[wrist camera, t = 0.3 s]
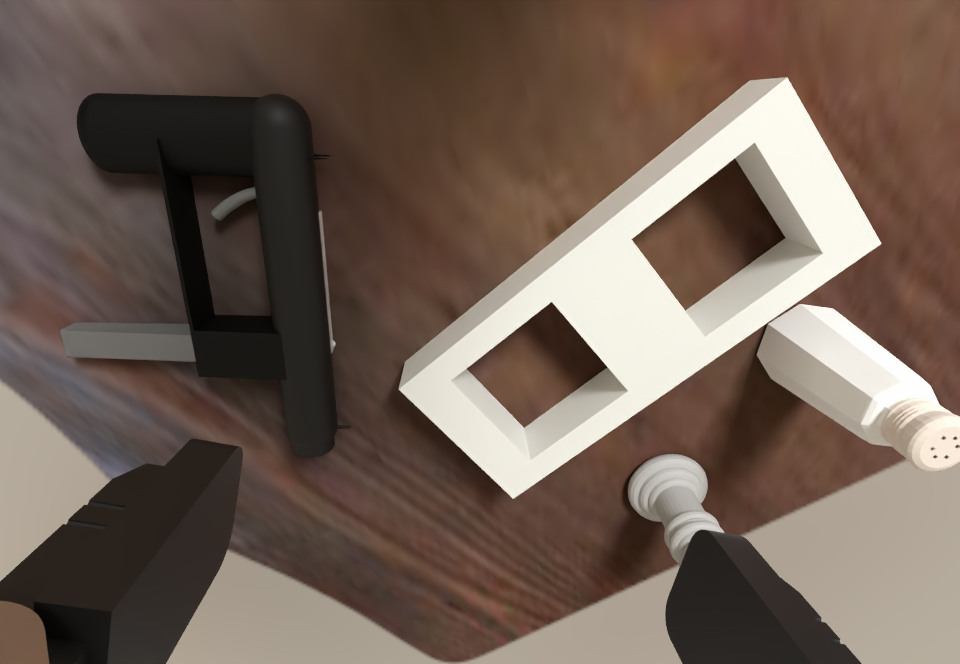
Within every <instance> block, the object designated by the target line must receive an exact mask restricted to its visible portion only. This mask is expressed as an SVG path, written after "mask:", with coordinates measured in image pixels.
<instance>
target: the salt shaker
mask: <svg viewBox="0 0 960 664" xmlns="http://www.w3.org/2000/svg"><path fill="white" fill-rule="evenodd" d="M757 357H758V358H759V360H760V362H761V363H762V365H763V367H764V368H765V370H766V372H767V373H768V375H769V376H770V378H771V379H772V380H773V381H775V382H777V383H778V384H780V385H781V386H783V387H784V388H786V389H787V390H789V391H790V392H792V393H793V394H795V395H796V396H798V397H799V398H801V399H802V400H804V401H805V402H807V403H808V404H810V405H811V406H813V407H815V408H816V409H818V410H819V411H821V412H822V413H824V414H825V415H827V416H828V417H830V418H831V419H833V420H834V421H836V422H837V423H839V424H840V425H842V426H843V427H845V428H846V429H848V430H849V431H851V432H853V433H854V434H856V435H857V436H859V437H860V438H862V439H864V440H865V441H867V442H869V443H871V444H876V445H884V446H892V447H893V448H894V449H896V450H897V451H898V452H899V453H900V454H902V455H903V456H905V457H906V459H907V461H908V462H910V463H911V464H912V465H913V466H914V467H916V468H917V469H920V470H923V471H940V470H944V469H947V468H949V467H951V466H953V465H955V464H957V463H958V462H960V417H959V416H957V415H954V414H952V413H951V412H950V411H948V410H946V409H945V408H943V407H942V406H940V405H939V403H938V401H937V399H936V396H935V394H934V392H933V390H932V388H931V386H930V385H929V384H928V383H927V382H926V381H925V380H923V379H922V378H921V377H920V376H919V375H918V374H916V373H915V372H914V371H912V370H911V369H910V368H909V367H907V366H906V365H905V364H903V363H902V362H901V361H900V360H898V359H897V358H896V357H894V356H893V355H892V354H891V353H889V352H888V351H887V350H886V349H884V348H883V347H882V346H880V345H879V344H878V343H877V342H875V341H874V340H873V339H871V338H870V337H869V336H868V335H866V334H865V333H864V332H862V331H861V330H860V329H859V328H857V327H856V326H855V325H853V324H852V323H851V322H850V321H848V320H847V319H846V318H845V317H843V316H842V315H841V314H839V313H838V312H837V311H836V310H834V309H833V308H826V307H818V306H810V305H803V304H799V305H797V306H796V307H794V308H793V309H791V310H789V311H788V312H786V313H784V314H783V315H781V316H780V317H778V318H776V319H775V320H773V321H772V322H770V323H768V325H767V328H766V330H765V333H764V336H763V338H762V341H761V344H760V347H759V349H758V352H757Z"/></svg>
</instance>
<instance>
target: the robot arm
mask: <svg viewBox="0 0 960 664" xmlns="http://www.w3.org/2000/svg"><path fill="white" fill-rule="evenodd" d="M242 458H243V452H242V448H241V447H238V446H233V445H227V444H221V443H216V442H210V441H204V440H199V439H191V440H190V441H189V442H188V443H187V444H186V445H185V446H184V447H183V448H182V449H181V450H180V451H179V452H178V453H177V454H176V455H175V456H174V457H173V458H172V459H171V460H170V461H169V462H168V463H167V464H166V465H165V466H159V465H153V464H145V465H142V466H140V467H138V468H136V469H134V470H131V471H129V472H127V473H125V474H123V475H120V476H118V477H116V478H114V479H112V480H111V481H110V482H109V483H108V484H107V485H106V486H105V487H104V488H102V489H101V490H100V491H99V492H98V493H97V494H96V495H95V496H94V497H93V498H91V500H90V501H89V503H88V505H84V506H83V507H82V508H80V509H79V510H78V511H77V512H76V513H75V514H74V515H73V516H72V517H71V518H70V519H69V520H68V523H67V524H66V525H65V524H63V525H62V526H61V527H60V528H59V529H58V530H57V531H55V532H54V533H53V534H52V535H51V536H50V537H49V538H48V539H46V540H45V541H44V542H43V543H42V544H41V545H40V546H39V547H38V548H37V549H36V550H34V551H33V552H32V553H31V554H30V555H29V556H28V557H27V558H26V559H25V560H23V561H22V562H21V563H20V564H19V565H18V566H17V567H16V568H15V569H14V570H13V571H12V572H10V573H9V574H8V575H7V576H6V577H5V578H4V579H3V580H1V581H0V664H166V662H167V661H168V659H169V657H170V655H171V653H172V652H173V650H174V648H175V646H176V645H177V643H178V641H179V639H180V638H181V636H182V634H183V632H184V631H185V629H186V627H187V625H188V623H189V622H190V620H191V618H192V616H193V614H194V613H195V611H196V609H197V608H198V606H199V604H200V602H201V601H202V599H203V597H204V595H205V594H206V592H207V590H208V588H209V587H210V585H211V583H212V581H213V579H214V577H215V576H216V574H217V572H218V570H219V569H220V567H221V564H222V562H223V560H224V557H225V554H226V551H227V548H228V545H229V542H230V538H231V533H232V528H233V522H234V515H235V508H236V501H237V494H238V487H239V480H240V473H241V466H242ZM666 626H667V631H668V634H669V637H670V639H671V641H672V643H673V645H674V647H675V649H676V651H677V653H678V655H679V657H680V659H681V661H682V663H683V664H861V663H860V661H859V660H858V659H857V658H856V657H855V656H854V655H853V653H852V652H851V651H850V650H849V649H848V648H847V647H846V645H844V644H840V638H839V637H838V636H837V635H836V634H835V633H834V632H833V631H832V629H831V628H830V627H829V626H828V625H827V624H826V623H824V622H821V617H820V616H819V615H818V613H817V612H816V611H815V610H814V609H813V608H812V607H811V605H810V604H809V603H808V602H807V601H806V600H805V599H804V597H803V596H802V595H801V594H800V593H799V592H798V591H796V590H795V589H794V588H793V587H792V586H790V585H789V584H788V583H786V582H785V581H784V580H783V579H782V578H780V577H779V576H778V575H777V574H776V572H775V571H774V570H773V569H772V568H771V567H770V566H769V564H768V563H767V562H766V561H765V560H764V558H763V557H762V556H761V555H760V554H759V553H758V552H757V550H756V549H755V548H754V547H753V546H752V544H751V543H750V542H749V541H748V540H747V539H746V538H744V537H742V536H738V535H732V534H727V533H721V532H715V531H710V530H702V529H701V530H698V531H697V532H696V533H695V534H694V535H693V536H692V538H691V540H690V542H689V545H688V547H687V550H686V553H685V555H684V558H683V560H682V563H681V566H680V568H679V571H678V573H677V576H676V579H675V581H674V584H673V586H672V589H671V592H670V594H669V597H668V600H667V605H666Z"/></svg>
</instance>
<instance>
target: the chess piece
mask: <svg viewBox="0 0 960 664" xmlns="http://www.w3.org/2000/svg"><path fill="white" fill-rule="evenodd" d="M707 488H708V483H707V478H706V474H705V472H704V470H703V469H702V467H701V466H700V465H699V464H698V463H697V462H695V461H694V460H692V459H691V458H688V457H686V456H683V455H678V454H666V455H661V456H657V457H654V458H652V459H650V460H648V461H646V462H645V463H643V464H642V465H641V466H640V467H639V468H638V469H637V470H636V471H635V472H634V473H633V475H632V477H631V479H630V481H629V485H628V498H629V501H630V503H631V505H632V507H633V508H634V509H635V510H636V511H637V513H639V514H640V515H641V516H643V517H644V518H646V519H649V520H652V521H657V522H662V523H663V525H664V527H665V532H664V538H665V542H666V545H667V546H668V547H669V550H670V553H671V555H672V557H673V558H674V559H675V560H676V561H677V562H678V563H680V564H679V565H680V566H681V563H682V560H683V558H684V555H685V553H686V550H687V547H688V545H689V542H690V540H691V538H692V536H693V535H694V534H695V533H696V532H697V531H698V530H701V529H702V530H710V531H715V532H721V533H724V531H723V530H722V529H721V528H720V527H719V524H718V522H717V520H716V519H715V518H714V517H713V516H712V515H711V514H709V513H707V512H705V511H704V509H703V507H702V506H701V503H702V502H703V500H704V498H705V496H706V493H707Z"/></svg>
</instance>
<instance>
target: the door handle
mask: <svg viewBox="0 0 960 664" xmlns="http://www.w3.org/2000/svg"><path fill="white" fill-rule="evenodd" d="M77 129H78V134H79V138H80V141H81V143H82V146H83V148H84V150H85V151H86V153H87V155H88V156H89V157H90V159H91V160H92V161H93V162H94V163H95V164H96V165H97V166H99V167H100V168H102V169H103V170H106V171H108V172H112V173H138V174H160V178H161V183H162V189H163V194H164V199H165V204H166V209H167V214H168V219H169V225H170V230H171V235H172V240H173V245H174V250H175V255H176V261H177V266H178V271H179V276H180V281H181V286H182V291H183V297H184V302H185V307H186V312H187V317H188V322H189V324H168V323H88V322H75V323H73V324H71V325H69V326H67V327H65V328H63V329H61V330H60V334H61V337H62V341H63V344H64V348H65V351H66V354H67V357H83V358H110V359H136V360H163V361H189V362H196V365H197V370H198V375H199V377H224V378H251V379H277V380H280V384H281V392H282V399H283V407H284V415H285V422H286V430H287V434H288V437H289V439H290V440H291V442H292V448H293V452H294V453H295V454H296V455H298V456H301V457H317V456H321V455H323V454H326V453H327V452H329V451H330V450H331V449H332V448H333V447H334V445H335V439H334V436H335V434H336V431H337V428H351V426H342V425H337V413H336V402H335V391H334V380H333V368H332V357H331V354H332V352H333V351H334V347H335V345H336V344H335V341H334V340H333V336H332V324H331V313H330V301H329V290H328V278H327V267H326V255H325V244H324V232H323V221H322V211H319V210H318V199H317V188H316V176H315V165H314V159H326V158H314V157H318V156H329V155H317V154H313V143H312V131H311V123H310V120H309V117H308V115H307V113H306V111H305V110H304V109H303V107H302V106H301V105H300V104H299V103H298V102H296V101H295V100H293V99H292V98H290V97H287V96H285V95H280V94H270V95H266V96H263V97H261V98H259V97H220V96H182V95H143V94H104V93H95V94H91V95H89V96H87V97H86V98H85V99H84V100H83V101H82V103H81V105H80V107H79V110H78V114H77ZM190 175H206V176H240V177H253V178H254V185H255V187H253V188H248V189H245V190H242V191H240V192H237V193H235V194H233V195H232V196H230V197H228V198H227V199H225V200H224V201H222V202H221V203H220V204H219V205H217V206H216V207H215V208H214V209H213V210H212V211H211V214H212V216H213V217H214V218H216V219H217V220H220V221H222V220H223V219H224V218H225V217H226V216H227V215H228V214H229V213H231V212H232V211H233V210H234V209H236V208H237V207H239V206H240V205H242V204H244V203H246V202H248V201H250V200H252V199H255V198H256V201H257V208H258V216H259V224H260V231H261V239H262V247H263V254H264V262H265V269H266V277H267V285H268V292H269V300H270V308H271V315H272V316H234V315H215V314H214V309H213V303H212V297H211V291H210V286H209V280H208V274H207V268H206V263H205V257H204V251H203V245H202V240H201V234H200V228H199V222H198V217H197V211H196V205H195V199H194V194H193V188H192V182H191V176H190Z"/></svg>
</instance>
